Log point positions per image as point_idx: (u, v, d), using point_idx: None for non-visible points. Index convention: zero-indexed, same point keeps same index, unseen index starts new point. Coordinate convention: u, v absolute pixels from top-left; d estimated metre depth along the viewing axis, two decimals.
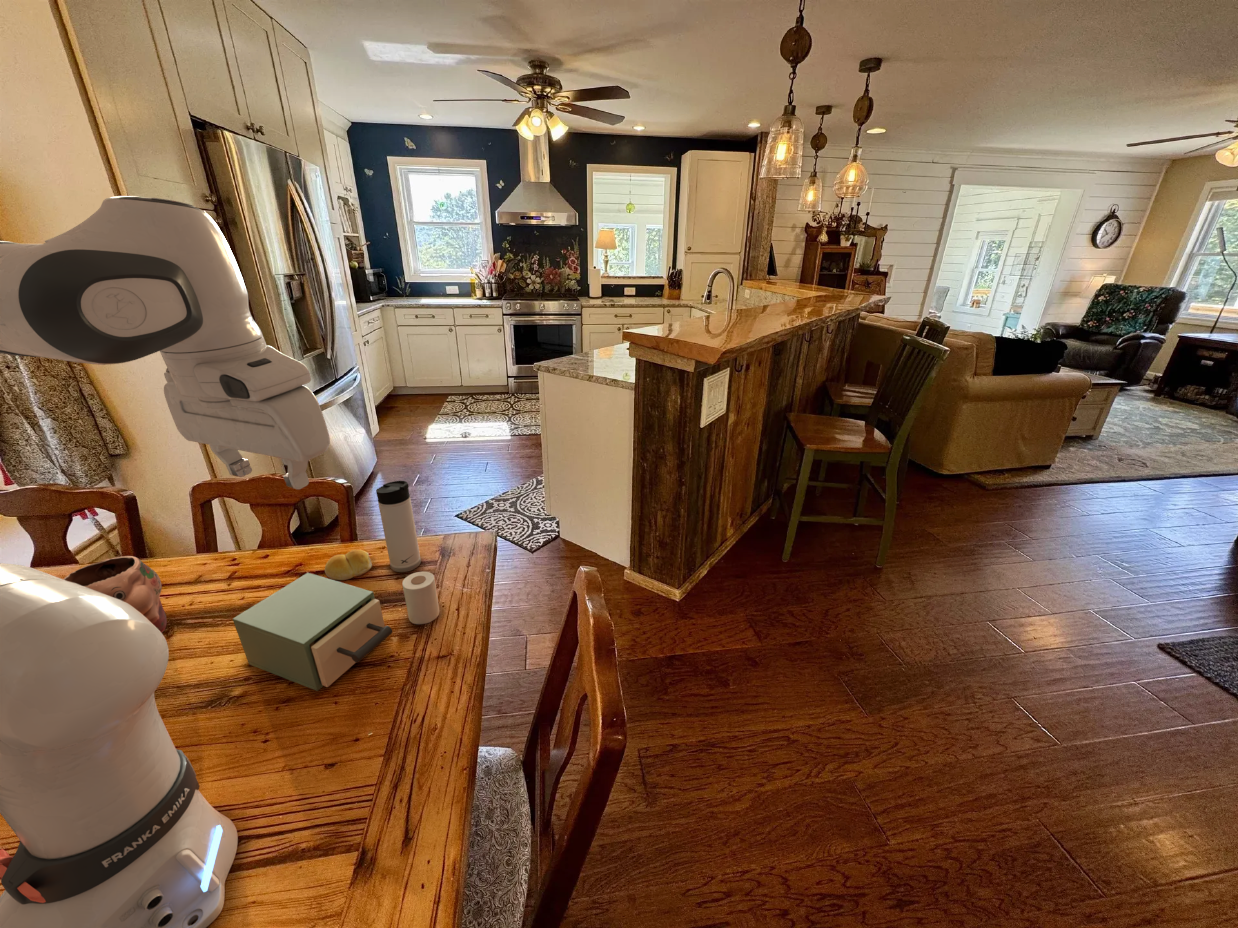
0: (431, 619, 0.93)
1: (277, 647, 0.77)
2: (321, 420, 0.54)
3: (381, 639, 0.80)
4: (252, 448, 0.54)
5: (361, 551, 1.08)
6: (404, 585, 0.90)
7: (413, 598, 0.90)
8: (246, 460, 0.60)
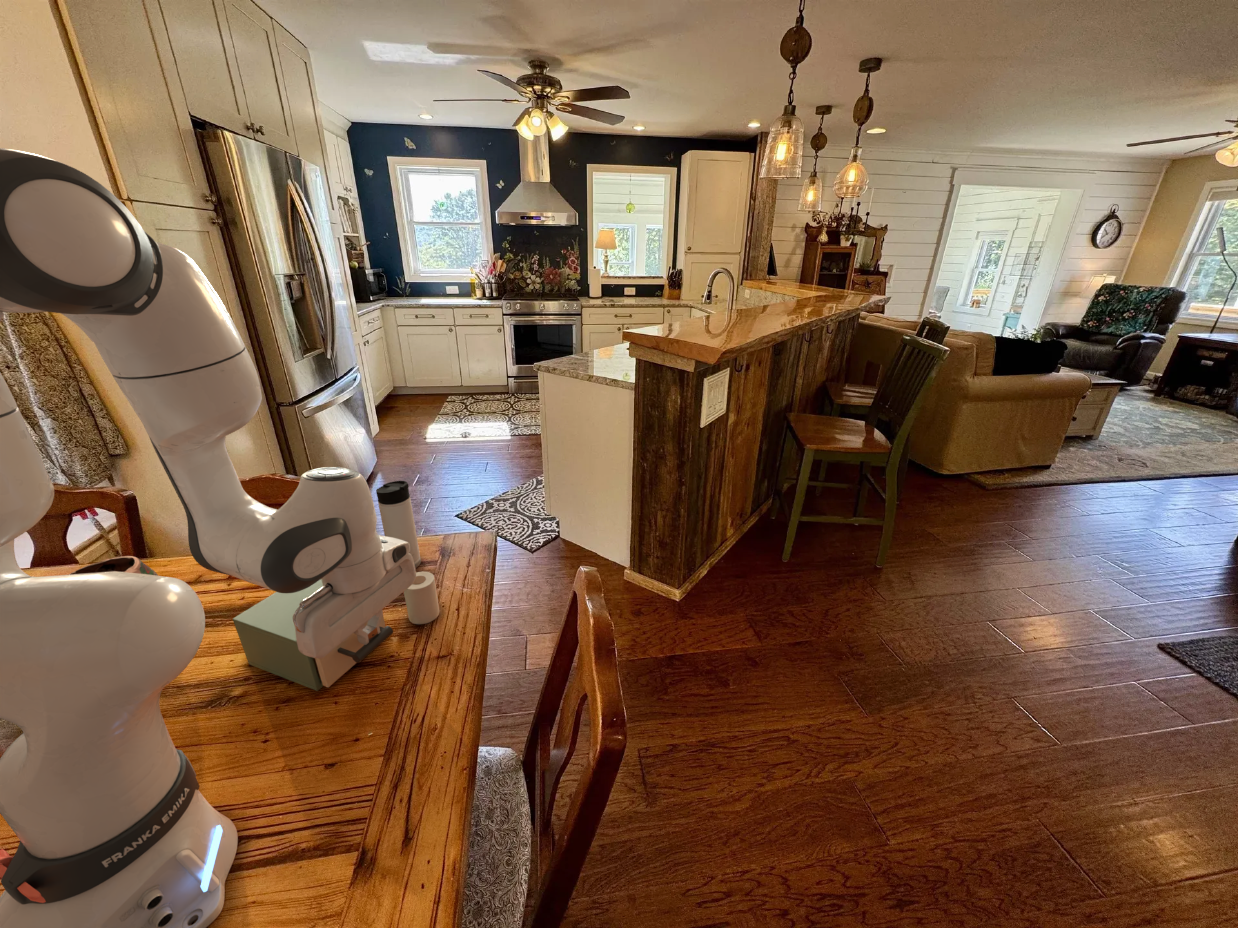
0: (431, 619, 0.93)
1: (277, 647, 0.77)
2: None
3: (382, 639, 0.80)
4: (383, 605, 0.79)
5: None
6: None
7: (413, 598, 0.90)
8: (364, 628, 0.79)
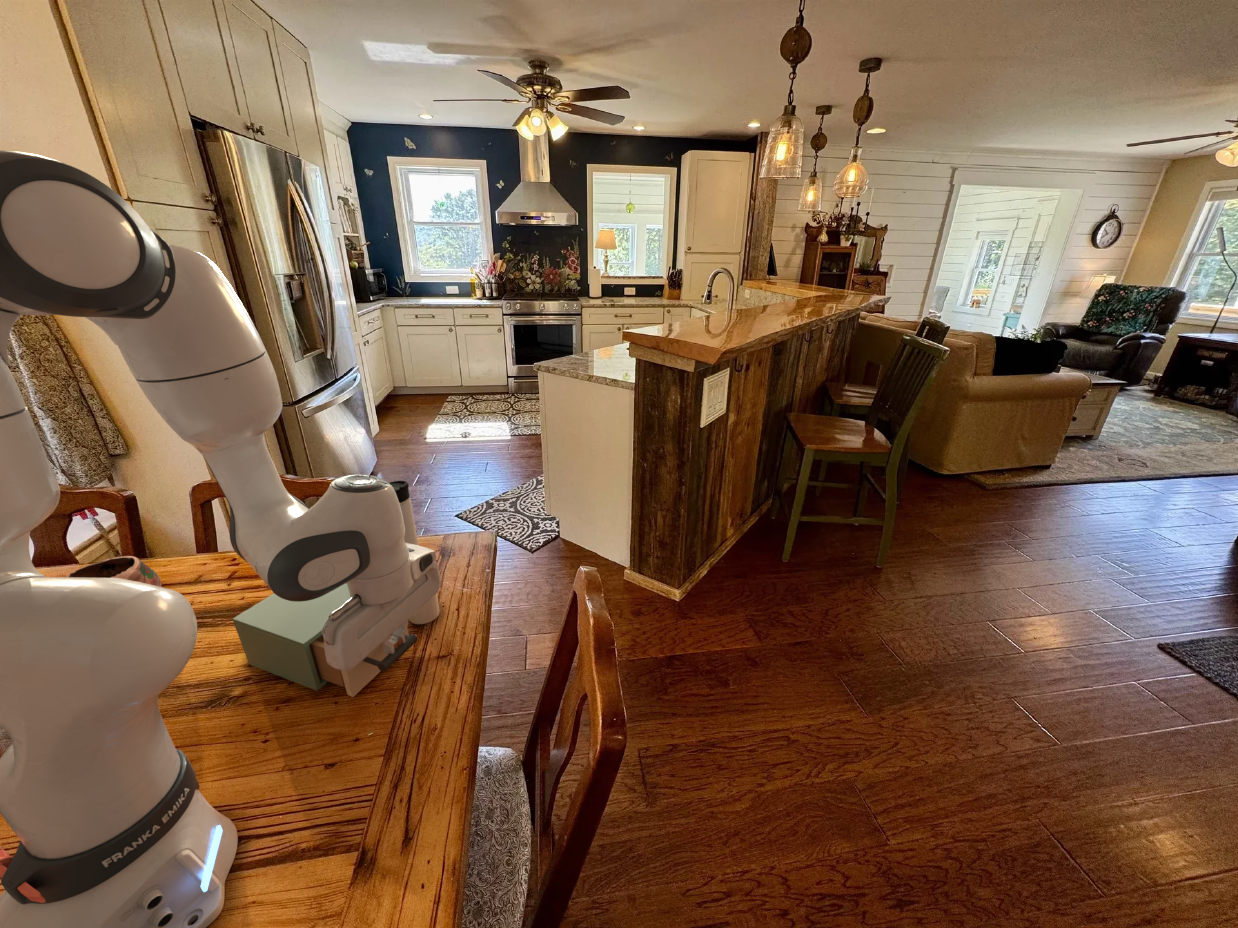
0: (431, 619, 0.93)
1: (277, 647, 0.77)
2: None
3: (407, 647, 0.79)
4: (410, 614, 0.78)
5: None
6: None
7: None
8: (389, 638, 0.78)
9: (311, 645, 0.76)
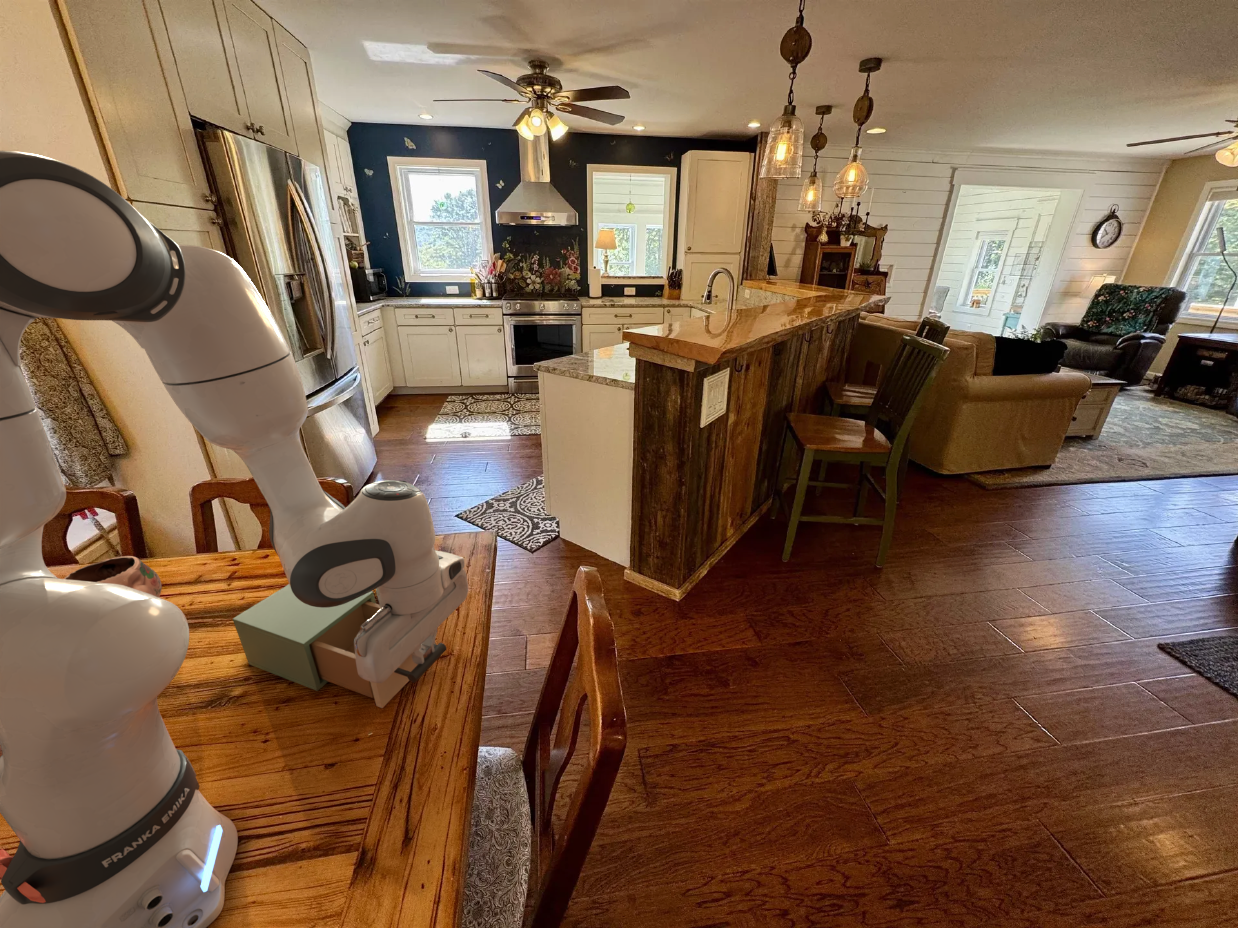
0: None
1: (277, 647, 0.77)
2: None
3: (436, 657, 0.77)
4: (439, 623, 0.76)
5: None
6: None
7: None
8: None
9: (339, 655, 0.74)
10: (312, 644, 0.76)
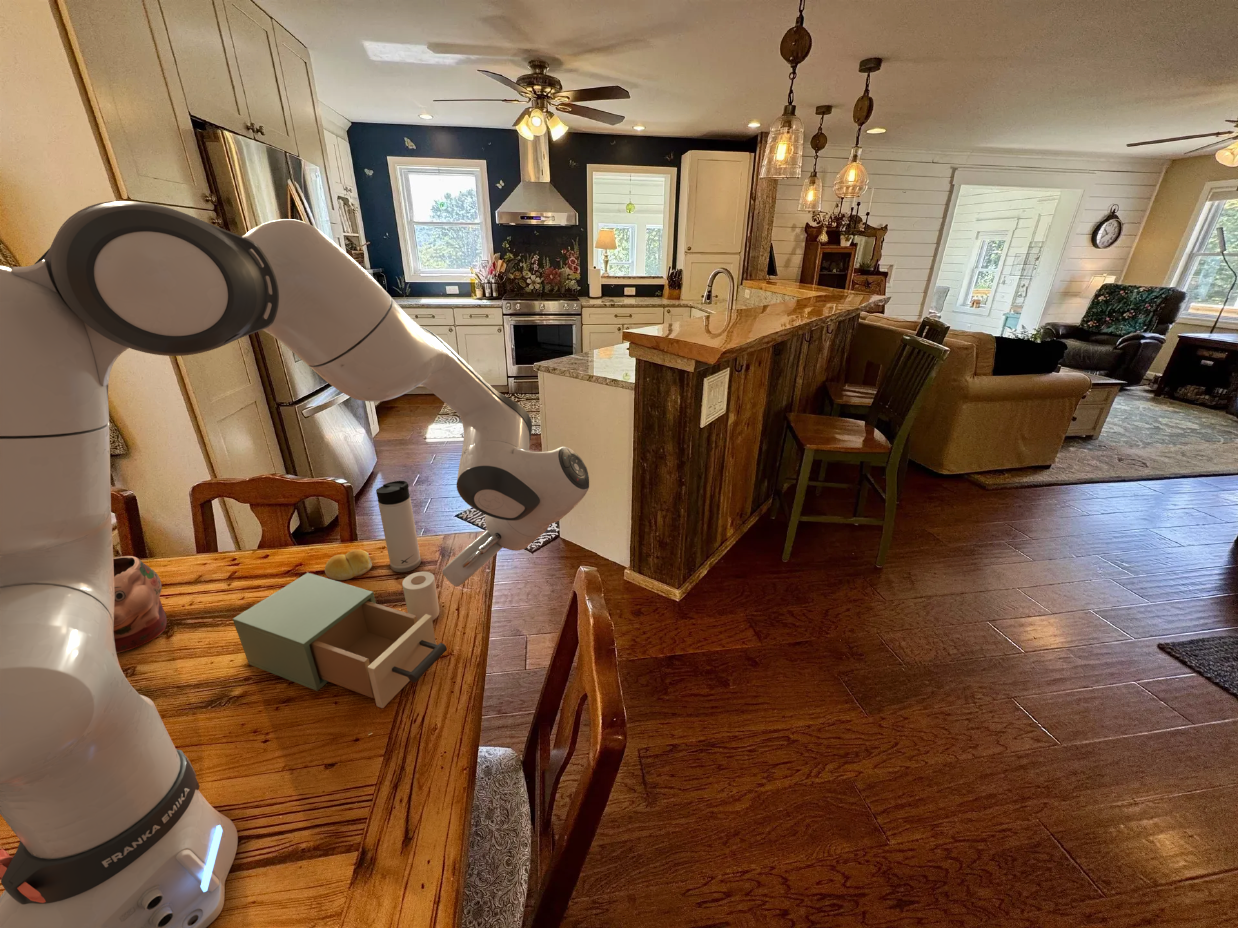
0: None
1: (277, 647, 0.77)
2: None
3: (437, 657, 0.77)
4: None
5: (361, 551, 1.08)
6: (404, 585, 0.90)
7: (413, 598, 0.90)
8: None
9: (340, 655, 0.74)
10: (312, 644, 0.76)
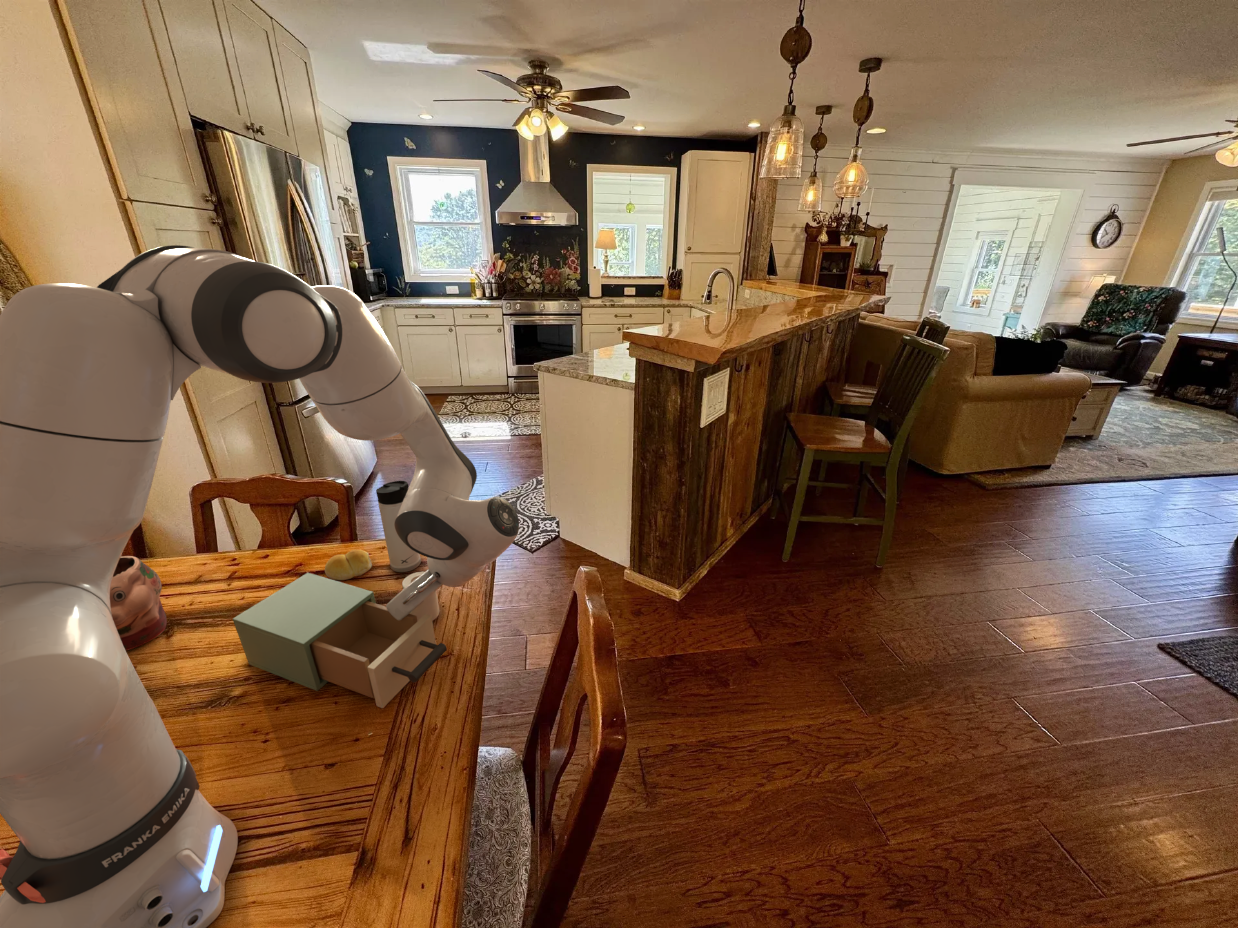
0: None
1: (277, 647, 0.77)
2: None
3: (437, 657, 0.77)
4: None
5: (361, 551, 1.08)
6: (404, 585, 0.90)
7: None
8: None
9: (340, 655, 0.74)
10: (312, 644, 0.76)
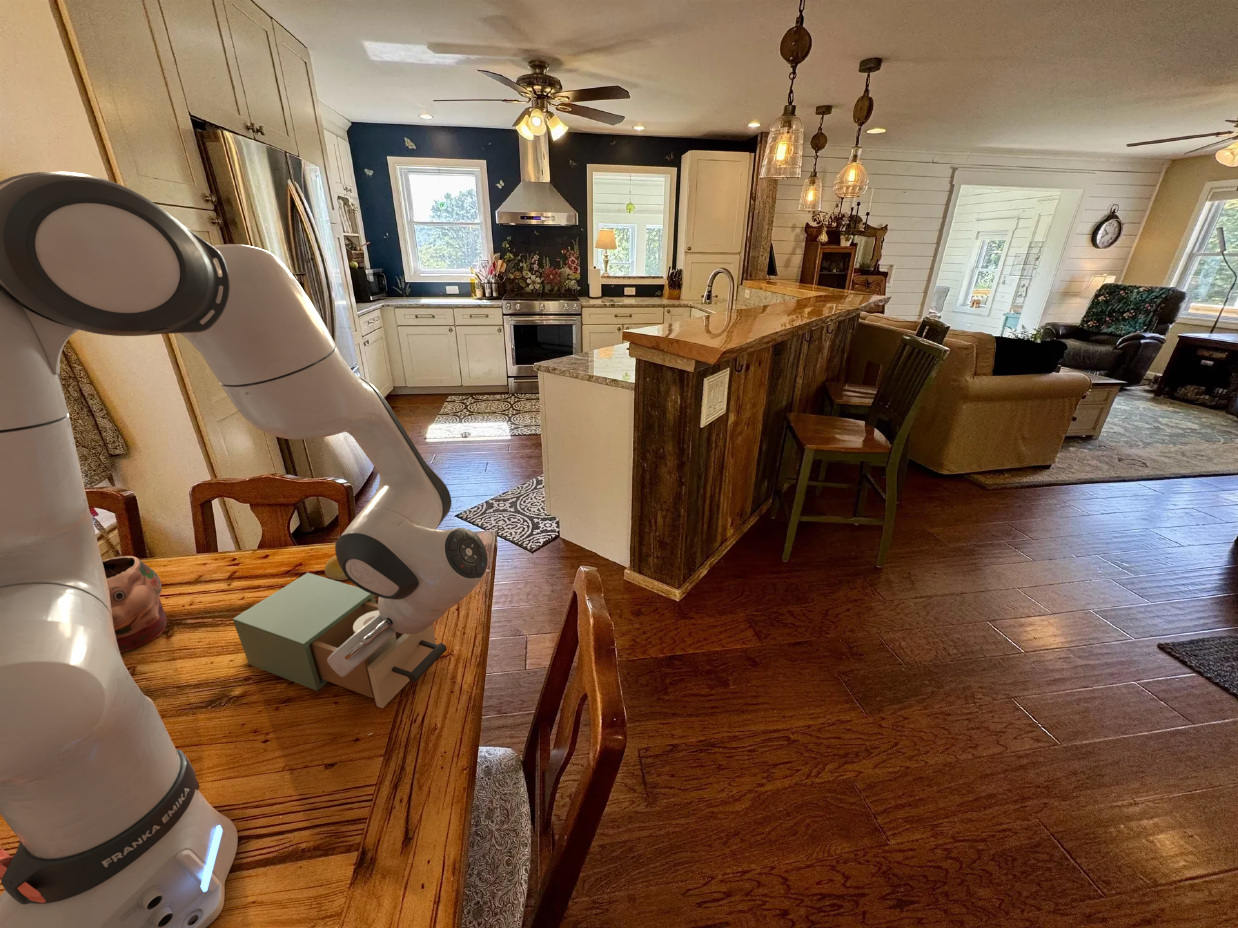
0: None
1: (277, 647, 0.77)
2: None
3: (437, 657, 0.77)
4: None
5: None
6: (355, 629, 0.76)
7: None
8: None
9: None
10: (312, 644, 0.76)
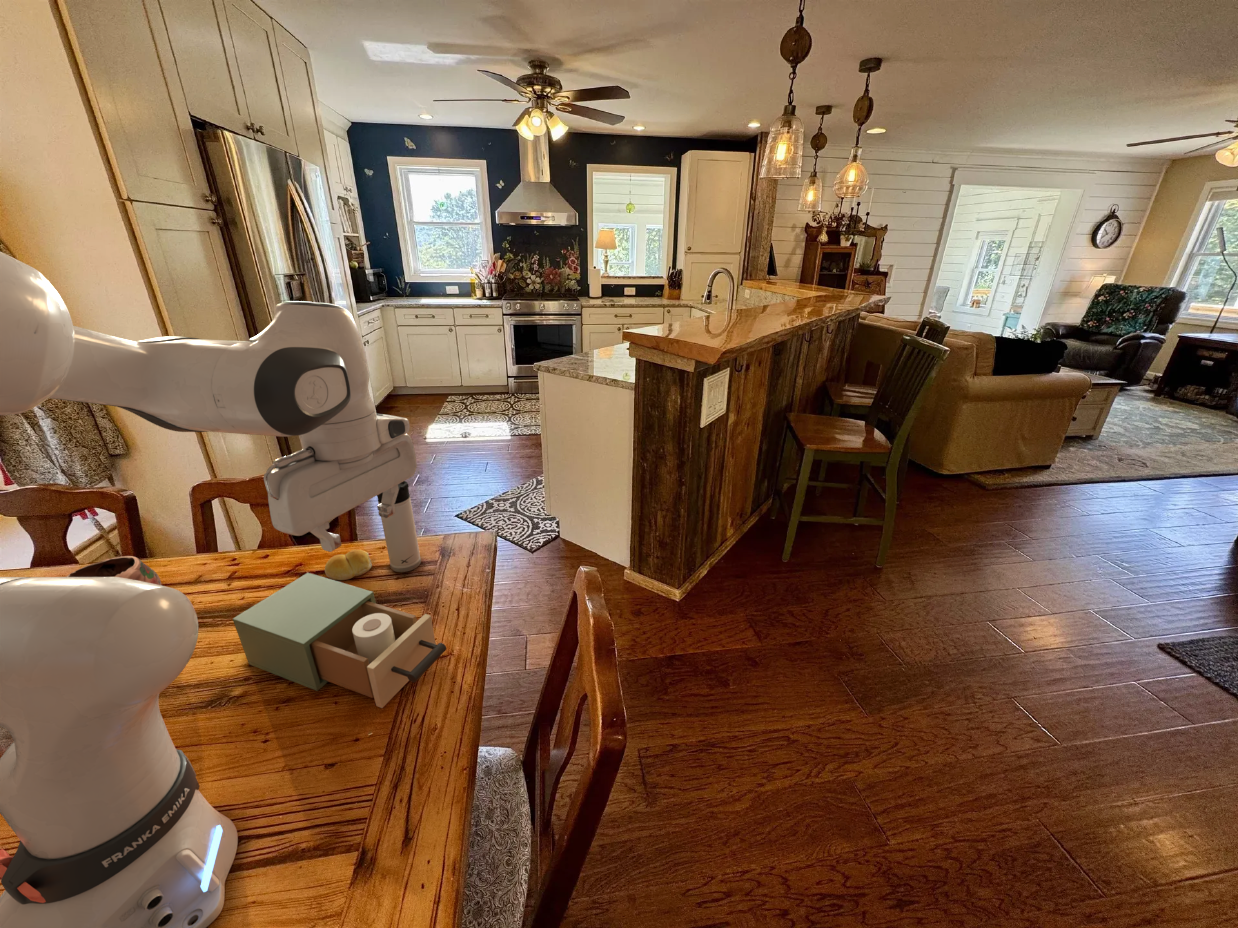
0: None
1: (277, 647, 0.77)
2: None
3: (436, 657, 0.77)
4: (377, 490, 0.67)
5: (361, 551, 1.08)
6: (354, 631, 0.76)
7: (364, 647, 0.76)
8: (329, 533, 0.63)
9: (339, 655, 0.74)
10: (312, 644, 0.76)
